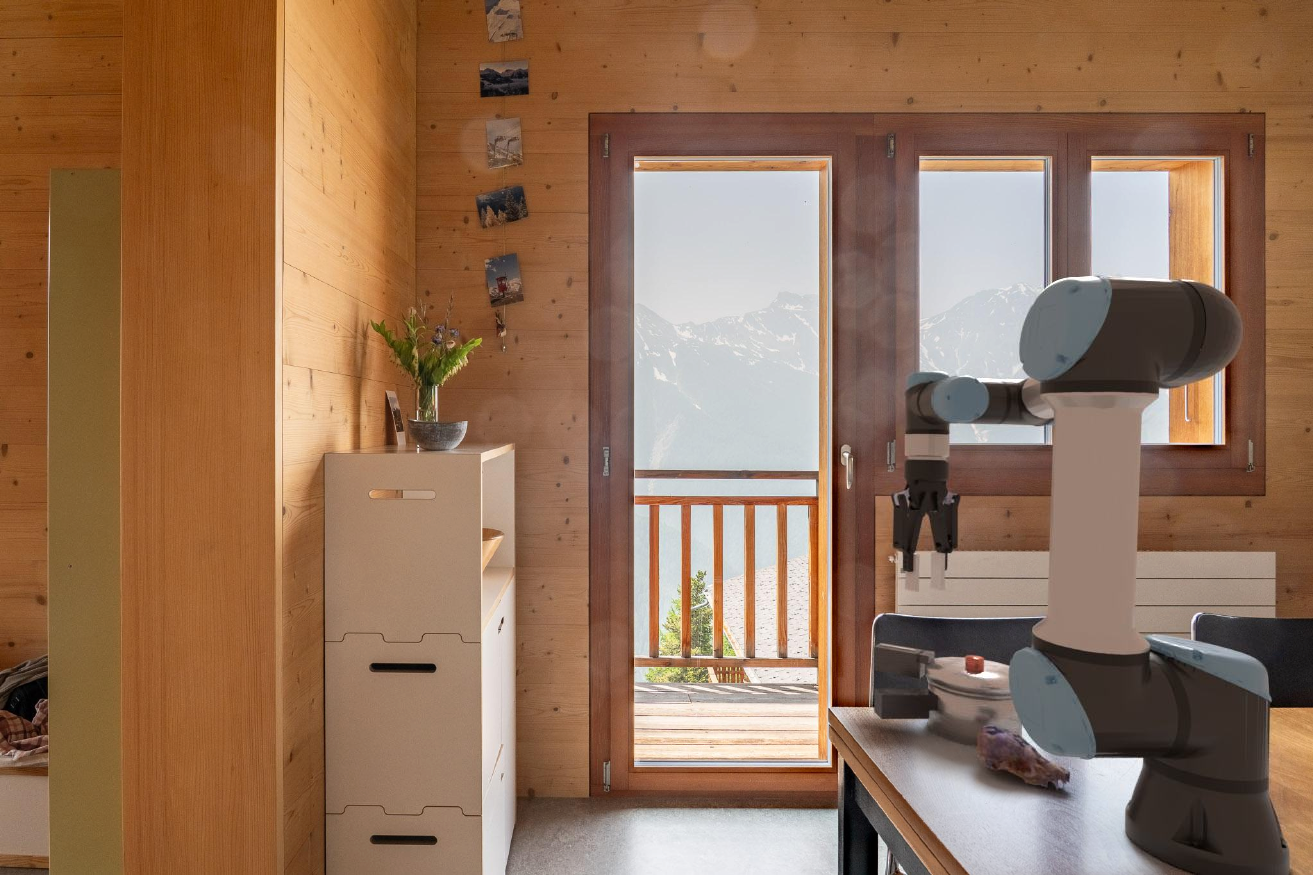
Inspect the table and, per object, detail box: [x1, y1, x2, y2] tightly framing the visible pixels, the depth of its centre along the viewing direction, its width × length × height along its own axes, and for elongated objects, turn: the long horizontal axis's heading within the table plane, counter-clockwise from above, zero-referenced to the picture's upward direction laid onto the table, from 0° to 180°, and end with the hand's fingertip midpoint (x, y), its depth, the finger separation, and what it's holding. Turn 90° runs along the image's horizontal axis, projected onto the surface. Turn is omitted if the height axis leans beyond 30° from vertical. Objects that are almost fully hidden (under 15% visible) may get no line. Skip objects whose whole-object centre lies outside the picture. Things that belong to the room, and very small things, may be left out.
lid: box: [873, 642, 1011, 694], centre depth 123 cm, size 15×24×5 cm, turn 54°
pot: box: [873, 677, 1023, 747], centre depth 120 cm, size 14×23×8 cm, turn 94°
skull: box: [975, 725, 1071, 790], centre depth 103 cm, size 12×8×6 cm, turn 37°
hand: (924, 589), depth 132 cm, fingers open, 5 cm apart
